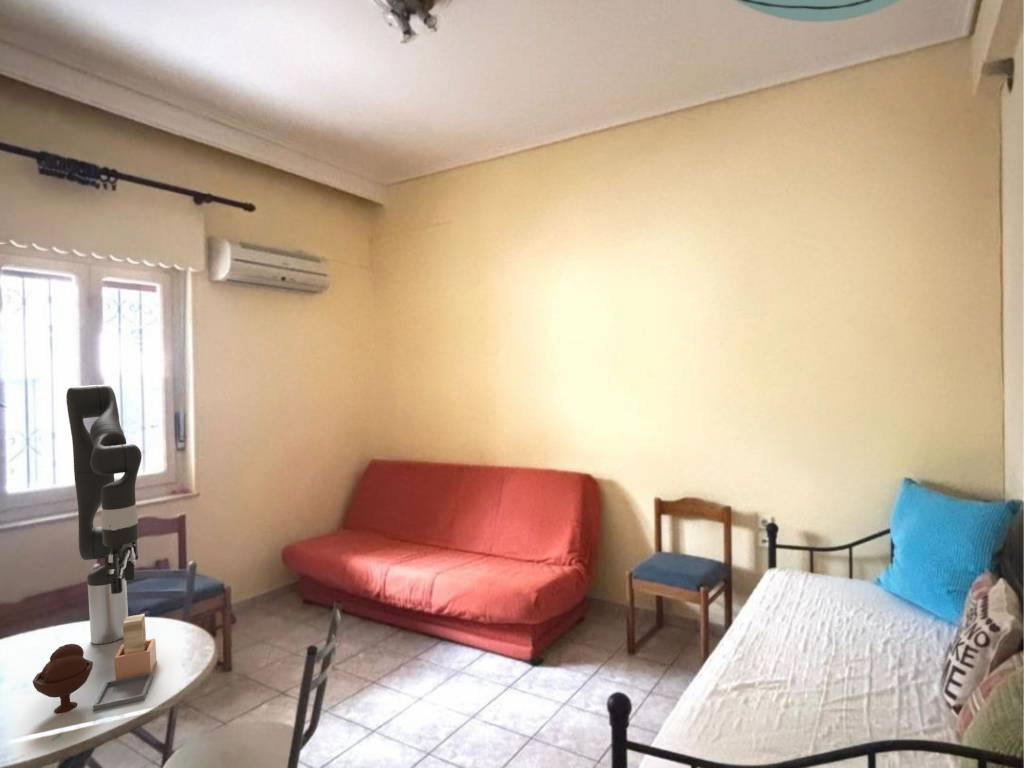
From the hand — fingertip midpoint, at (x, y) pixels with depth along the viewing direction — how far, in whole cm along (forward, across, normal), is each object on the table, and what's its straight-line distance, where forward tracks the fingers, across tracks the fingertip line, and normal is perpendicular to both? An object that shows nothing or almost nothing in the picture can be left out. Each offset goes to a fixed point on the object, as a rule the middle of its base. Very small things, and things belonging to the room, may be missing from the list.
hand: (123, 586), depth 144 cm
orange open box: (+24, -2, +1) cm, 24 cm away
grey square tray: (+24, +9, +2) cm, 26 cm away
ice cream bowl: (+24, +11, -9) cm, 28 cm away
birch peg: (+23, -2, +1) cm, 23 cm away
